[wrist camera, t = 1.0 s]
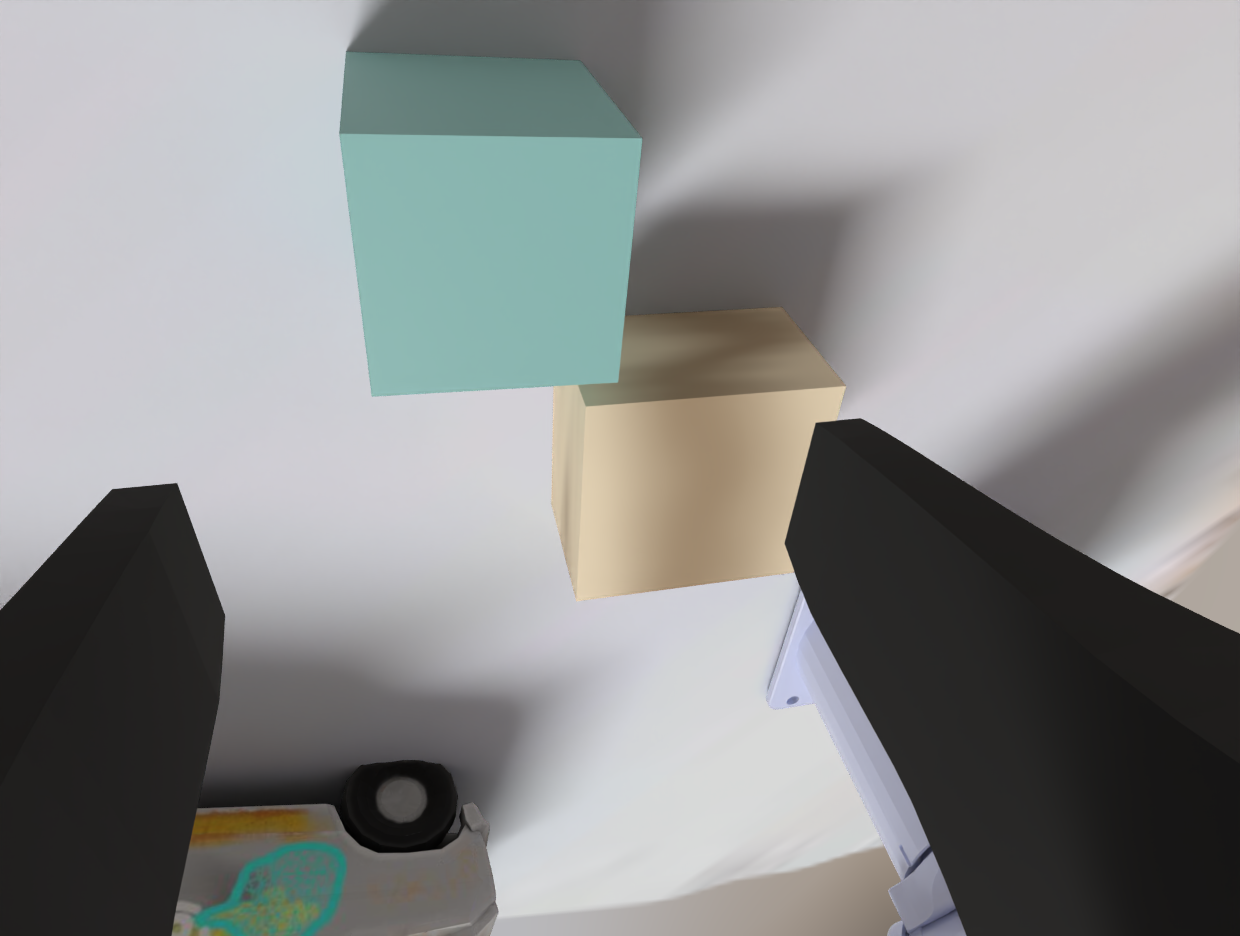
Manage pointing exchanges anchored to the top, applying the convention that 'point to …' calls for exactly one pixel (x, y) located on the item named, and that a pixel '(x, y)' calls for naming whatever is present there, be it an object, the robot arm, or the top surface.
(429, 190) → the teal block
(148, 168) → the top surface
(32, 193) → the top surface
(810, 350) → the beech block
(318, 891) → the toy car
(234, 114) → the top surface
